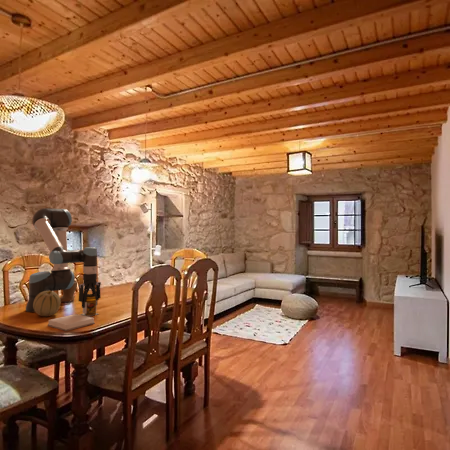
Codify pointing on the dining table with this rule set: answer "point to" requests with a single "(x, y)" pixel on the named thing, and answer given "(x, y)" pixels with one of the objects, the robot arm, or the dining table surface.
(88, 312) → the condiment
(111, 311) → the dining table surface
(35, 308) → the cantaloupe
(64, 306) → the dining table surface
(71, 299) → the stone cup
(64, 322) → the stand
